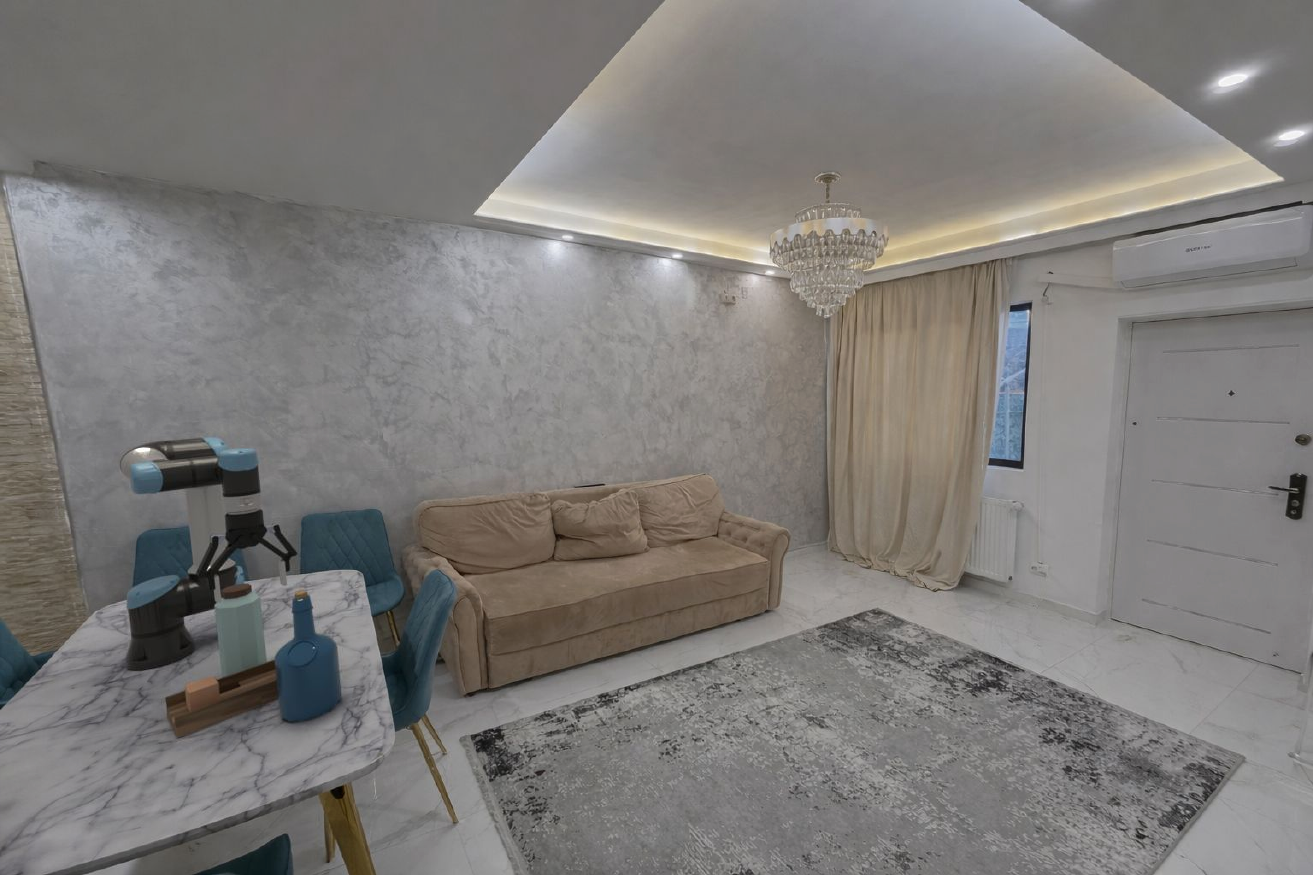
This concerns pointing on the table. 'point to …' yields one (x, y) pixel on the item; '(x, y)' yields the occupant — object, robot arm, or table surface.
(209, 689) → the block
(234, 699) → the trap box
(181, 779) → the table surface
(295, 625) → the wine bottle
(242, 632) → the water bottle
